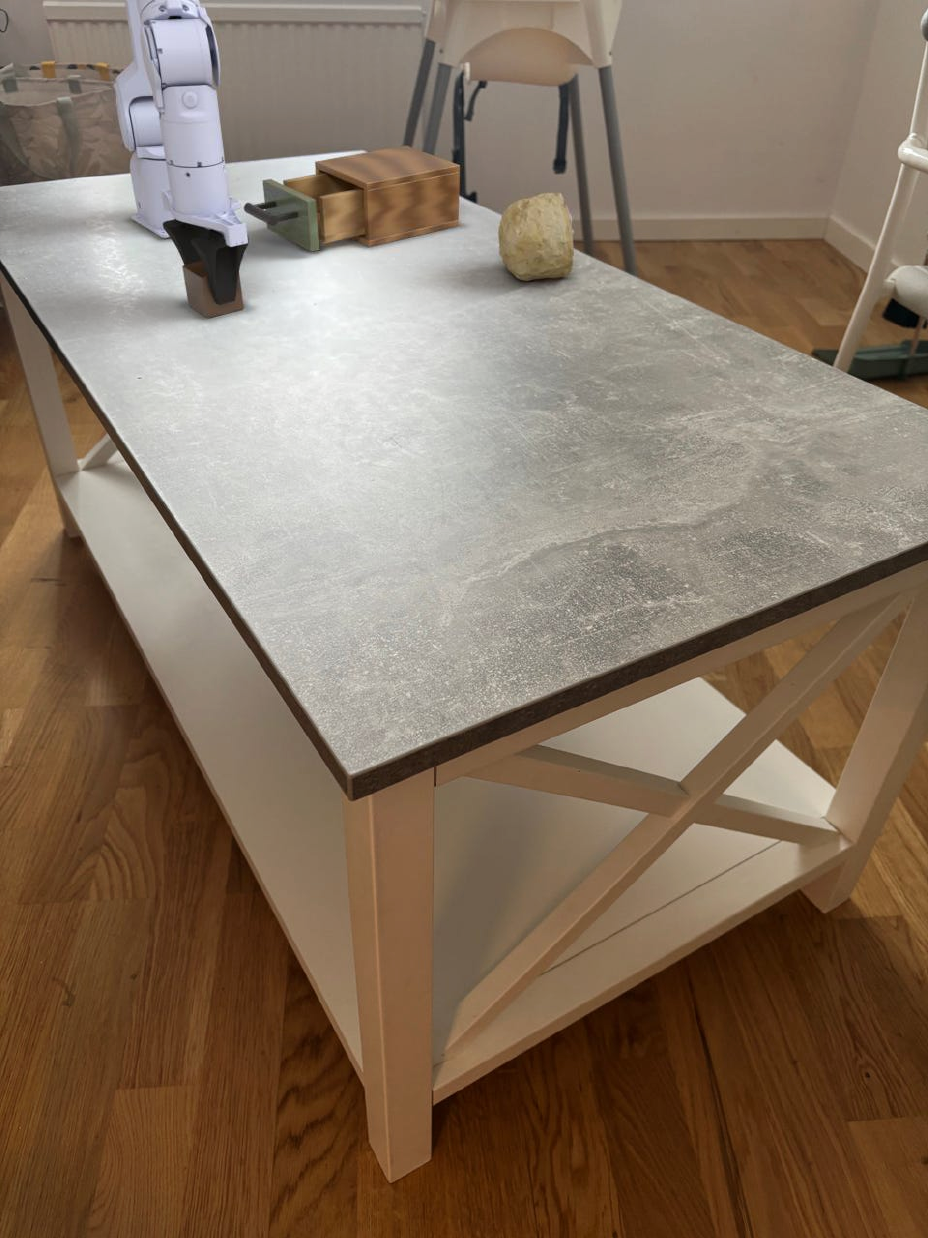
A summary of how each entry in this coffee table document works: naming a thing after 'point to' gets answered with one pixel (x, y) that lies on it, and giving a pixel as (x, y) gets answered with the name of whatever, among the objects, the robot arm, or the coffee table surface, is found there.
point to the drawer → (312, 209)
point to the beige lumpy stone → (537, 237)
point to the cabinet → (400, 192)
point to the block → (206, 292)
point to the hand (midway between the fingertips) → (214, 294)
